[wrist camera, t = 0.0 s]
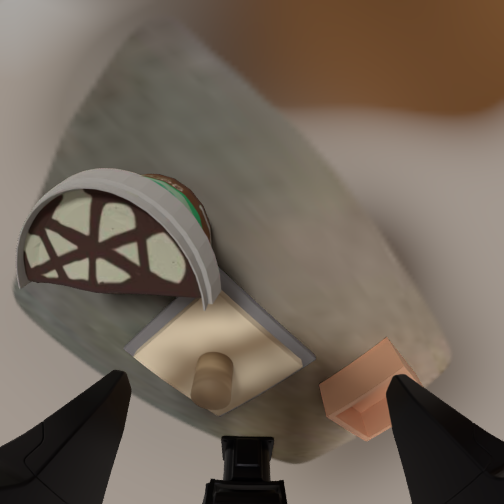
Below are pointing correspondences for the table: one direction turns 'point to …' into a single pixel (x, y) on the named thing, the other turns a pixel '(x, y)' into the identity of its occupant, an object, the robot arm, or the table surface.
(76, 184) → the food container
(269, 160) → the table surface
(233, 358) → the lid
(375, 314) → the table surface
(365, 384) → the open box
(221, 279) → the mat
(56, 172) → the table surface
